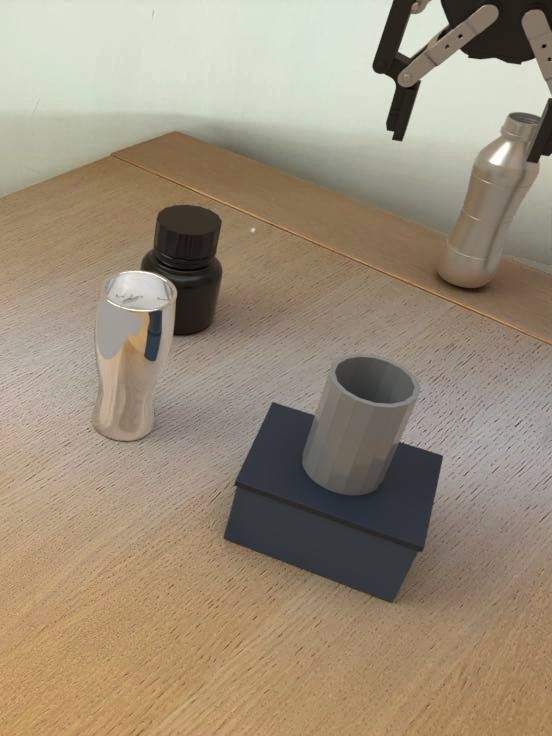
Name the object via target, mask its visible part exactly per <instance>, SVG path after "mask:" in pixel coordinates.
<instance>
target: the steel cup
mask: <svg viewBox="0 0 552 736" xmlns="http://www.w3.org/2000/svg"><path fill="white" fill-rule="evenodd" d="M321 392H322V393H321V396H320V399H319V402H318V405H317V408H316V411H315V414H314V415H315V417H314V420H313V423H312V427H311V430H310V433H309V436H308V439H307V442H306V445H305V448H304V451H303V456H302V465H303V468H304V470H305V472H306V473H307V474H308V476H309V477H310V478H311V479H312V480H313V481H314V482H316V483H317V484H318V485H320V486H322V487H323V488H325V489H327V490H330V491H332V492H335V493H339V494H343V495H351V496H357V495H365V494H368V493H371V492H373V491H374V490H376V489H377V488H378V487H379V486H380V485H381V483H382V481H383V480H384V477H385V475H386V473H387V470H388V468H389V465H390V463H391V461H392V458H393V456H394V453H395V451H396V449H397V446H398V444H399V442H401V439H402V438H403V434H404V432H405V429H406V428H407V425H408V422H409V420H410V417H411V416H412V413H413V411H414V409H415V406H416V403H417V401H418V398H419V395H420V392H421V385H420V383H419V381H418V378H417V376H415V374H414V373H412V372H411V371H410V369H408V368H407V367H406V366H404V365H402V364H400V363H398V362H396V361H395V360H393V359H390V358H387V357H384V356H380V355H376V354H372V353H371V354H369V353H353V354H347V355H342V356H341V357H339V358H338V359H335V360H334V361H333V362H332V363H331V366H330V368H329V372H328V373H327V377H326V379H325V383H324V387H323V390H322V391H321Z"/></svg>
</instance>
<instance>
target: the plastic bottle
mask: <svg viewBox="0 0 552 736" xmlns="http://www.w3.org/2000/svg"><path fill="white" fill-rule="evenodd" d="M540 118H541V116H540V115H537V114H533V113H529V112H523V111H513V112H510V113H508V114H507V116H506V118H505V119H504V122H503V124H502V125H501V127H500V130H499V133H500V134H501V135H500V136H498V137H497V138H495V139H494V140H493V141H491V142H489V143H488V144H487V145H486V146H484V147H483V148H482V149H480V151H479V152H478V153H477V155H476V156H475V157H474V160H473V163H472V167H471V170H470V171H471V172H470V175H469V181H468V186H467V191H466V194H465V197H464V200H463V205H462V207H461V209H460V212H459V215H458V217H457V219H456V222H455V224H454V226H453V228H452V230H451V232H450V234H449V235H448V238H447V239H446V240H445V242H444V243H443V245H442V246H441V248H440V251H439V252H438V255H437V261H436V269H437V272H438V275H439V276H440V278H441V279H442V280H444V281H445V282H446V283H449V284H451V285H454V286H456V287H460V288H466V289H477V288H478V289H479V288H482V287H483V286H485V285H487V284H489V283H490V282H491V281H492V280H493V279H494V277H495V276H496V274H497V273H498V271H499V268H500V264H501V260H502V254H503V248H504V245H505V242H506V239H507V236H508V233H509V229H510V227H511V225H512V223H513V220H514V217H515V216H516V215H517V213H518V210H519V208H520V206H521V204H522V202H523V201H524V199H525V198H526V196H527V195H528V194H529V193H528V192H530V190H531V188H532V186H533V184H534V183H535V181H536V180H537V177H538V176H539V174H540V170H541V169H540V166H541V161H540V160H539V162H538V163H537V164H536V163H530V162H526V154H527V151H528V148H529V145H530V143H531V140H532V138H533V135H534V133H535V130H536V128H537V125H538V123H539V121H540Z"/></svg>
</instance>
